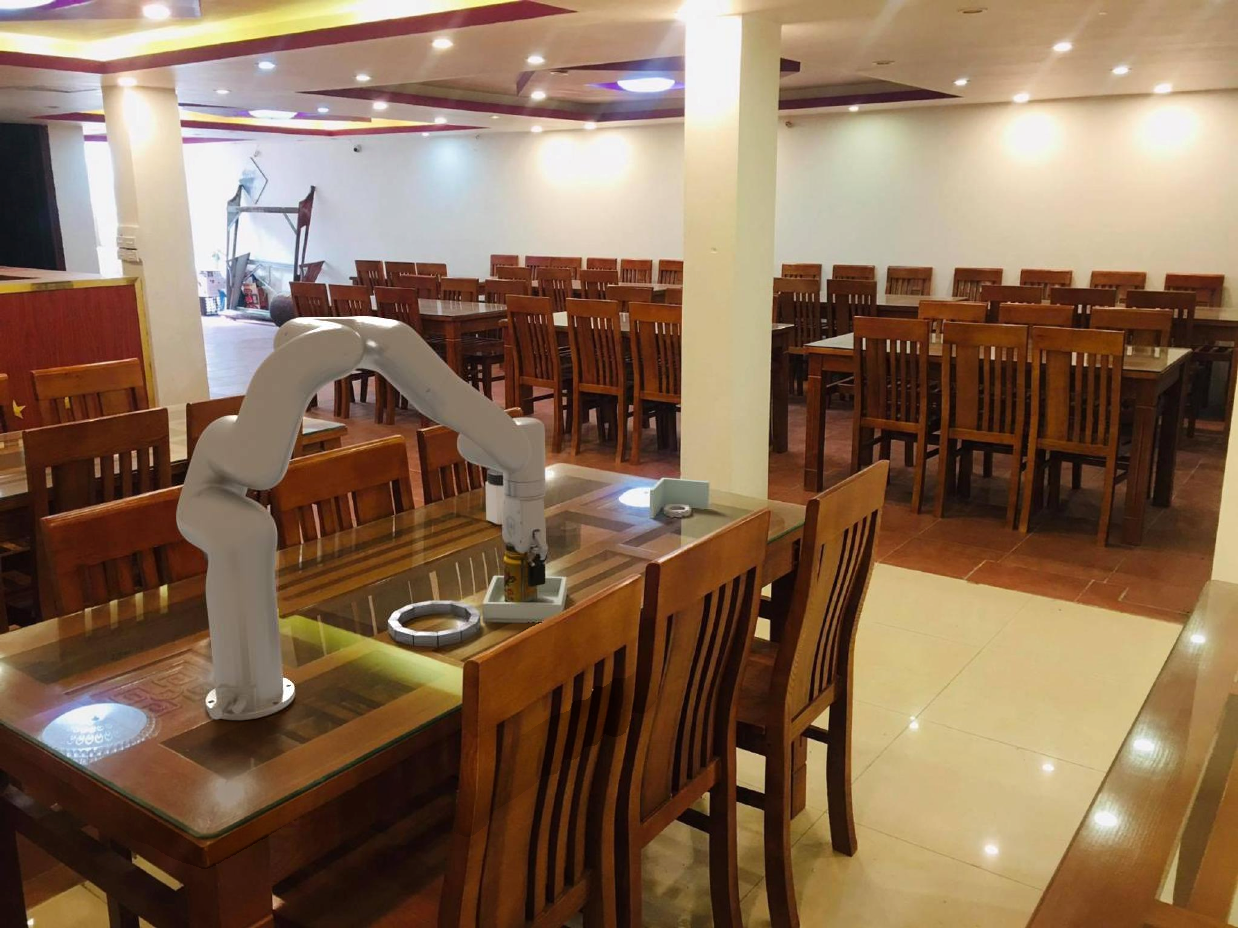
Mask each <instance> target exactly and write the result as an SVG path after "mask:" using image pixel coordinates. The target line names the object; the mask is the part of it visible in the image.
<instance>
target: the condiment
mask: <svg viewBox="0 0 1238 928" xmlns="http://www.w3.org/2000/svg"><path fill="white" fill-rule="evenodd" d="M504 548H505V550H504V554H505V556H504V557H503V576H504V599H505V600H504V601H500V602H524V603H550V602H552V601H555V600H551V599H548V598H544V597H542V596H539V595H537V586H532V587H530V586H529V585H528V565H530V563H529V559H528V556H527V553H526V552H525V553H524V554H521V553H519V552H518V551H516V550H515V548H514V546H512V545H510V544H509V543H508V542H507V543H506V542H505V547H504ZM530 548H535V546H534V547H530ZM532 554H533V558H534V557H535V556H536V554H535V553H532Z"/></svg>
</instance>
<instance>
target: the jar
mask: <svg viewBox="0 0 1238 928" xmlns="http://www.w3.org/2000/svg"><path fill="white" fill-rule="evenodd" d="M486 480H487V481H485V514H486V516H485V517H486V521H489V522H490V523H493V524H495V525H502V516H503V501H504V487H503V472H500V471H497V470H494V469H491V468H488V470H487V471H486Z"/></svg>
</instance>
